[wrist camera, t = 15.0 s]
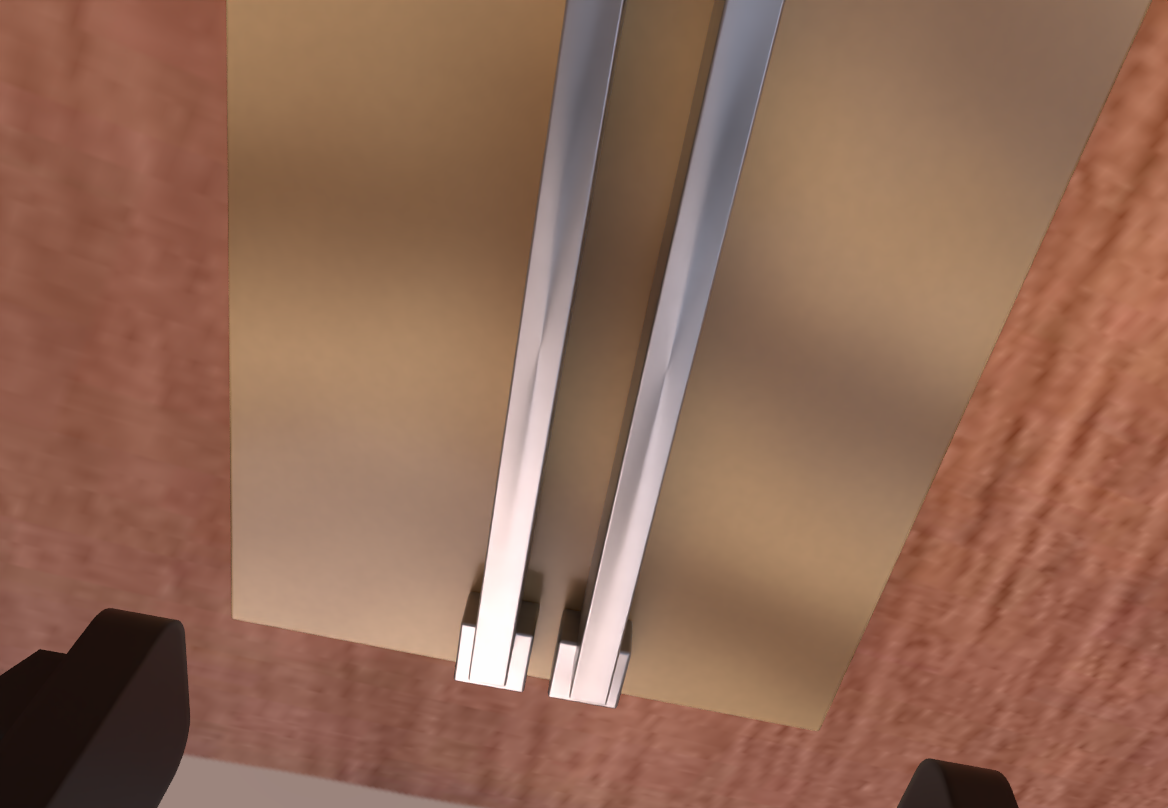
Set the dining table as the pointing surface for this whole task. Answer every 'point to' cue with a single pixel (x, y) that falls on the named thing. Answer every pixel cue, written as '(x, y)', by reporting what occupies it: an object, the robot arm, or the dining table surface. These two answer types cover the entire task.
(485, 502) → the cutting board
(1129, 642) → the dining table surface
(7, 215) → the dining table surface
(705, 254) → the steel tongs
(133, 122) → the dining table surface
